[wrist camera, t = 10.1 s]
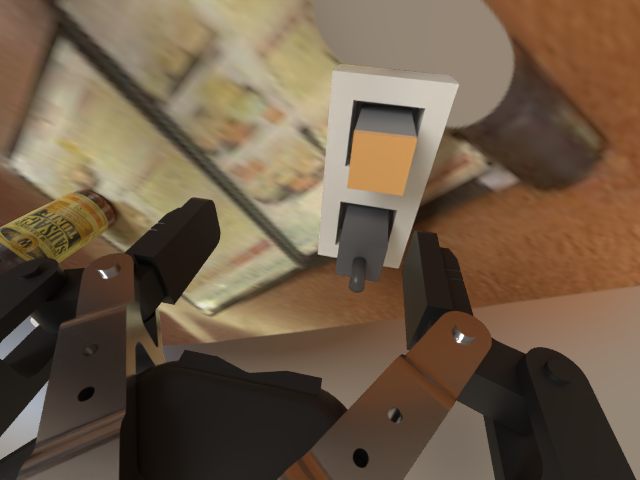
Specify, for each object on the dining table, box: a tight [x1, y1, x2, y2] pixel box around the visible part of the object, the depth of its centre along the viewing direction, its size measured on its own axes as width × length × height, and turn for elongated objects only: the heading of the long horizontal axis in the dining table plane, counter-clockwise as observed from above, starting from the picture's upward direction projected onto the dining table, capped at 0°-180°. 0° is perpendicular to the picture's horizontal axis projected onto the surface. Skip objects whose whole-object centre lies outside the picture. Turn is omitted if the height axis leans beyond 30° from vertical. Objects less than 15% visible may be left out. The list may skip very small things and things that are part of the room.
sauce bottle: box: [0, 190, 116, 277], centre depth 33 cm, size 7×6×20 cm
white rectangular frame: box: [318, 64, 459, 293], centre depth 25 cm, size 18×9×12 cm, turn 176°
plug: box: [347, 103, 417, 196], centre depth 23 cm, size 4×4×8 cm
